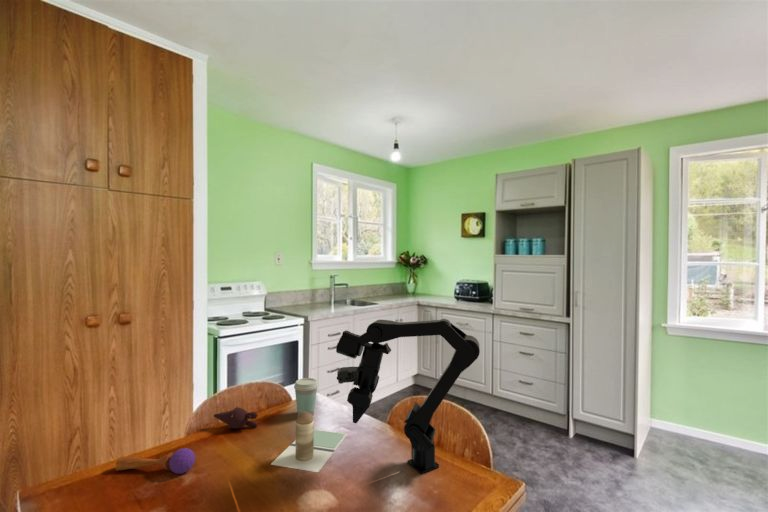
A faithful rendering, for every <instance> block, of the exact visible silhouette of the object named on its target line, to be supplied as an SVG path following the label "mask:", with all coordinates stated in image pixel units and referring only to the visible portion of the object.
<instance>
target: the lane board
mask: <svg viewBox="0 0 768 512" xmlns="http://www.w3.org/2000/svg"><path fill="white" fill-rule="evenodd" d="M347 435H348V433H343V432H335V431H329V430H323V429H322V430H321V429H315V428H314V455H313V458H312V459H310V460H307V461H299V460H297V459H296V439H295V440H294V441H293V442H291V443H290V444H289V446H288V447H286V449H284V450H283V452H281V454H279V455H278V456H277V457H276V458H275V460H272V462H271V464H270V466H271V465H272V466H276V467H284V468H289V469H296V470H301V471H305V472H306V471H307V472H313V473H319V472H320V471H321V469H322V468H323V466H324V465H325V464H326V463H327V461H328V460H329V459H330V458H331V456H332V455H333V453H334V452H335V451H336V449H338V447H339V446H340V445H341V443H342V442H343V440H344V439H345V438H346V436H347Z"/></svg>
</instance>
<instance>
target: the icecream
mask: <svg viewBox="0 0 768 512" xmlns="http://www.w3.org/2000/svg"><path fill="white" fill-rule="evenodd" d="M257 417H258V413H257V412H256V411H251V412H247V410H246V409H245V408H241V407H239V406H236V407H235V408H233V409H232V410H228V411H227V410H226V411H224V412H220V413H219V412H218V413H216V414H213V418H215V419H217V420H219V421H221V422H223V423H224V424H226V425H228V427H229V429H230V430H233V429H241V428H243V427H244V426H247V427H249V428H254V429H256V428H257V427H258V425H259V423H258V422H257V421H254V420H255V419H257Z"/></svg>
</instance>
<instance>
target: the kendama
mask: <svg viewBox="0 0 768 512" xmlns="http://www.w3.org/2000/svg"><path fill="white" fill-rule="evenodd" d="M124 457H125V458H124ZM118 459H119V460H118ZM118 459H117V460H116V462H115V470H116V471H117V472H118V471H119V470H120V471H125V470H132V469H137V468H143V467H148V466H154V465H157V466H159V467H160V468H163V469H165V470H167V471H171V472H172V473H174V474H177V475H182V474H185V473H187V472H189V471H190V470H191V468H193V466H194V464H195V461H196V454H195V452H194V451H193V450H192V449H190V448H189V447H188V448H187V447H183V448H180V449H178V450H176V451H174V452H173V451H172V452H169V453H167V454H165V455H164V456H162V457H160V458H158V459H157V458H156V459H155V458H144V457H143V458H142V457H133V456H120V457H118Z"/></svg>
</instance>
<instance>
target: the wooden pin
mask: <svg viewBox="0 0 768 512" xmlns="http://www.w3.org/2000/svg"><path fill="white" fill-rule="evenodd" d="M314 429H315V420H314V415H313V416H312V414H311V413H309V412H307V411H304V412H302V413H300V414H299V415H298V414H297V417H296V420H295V440H296V459H297V460H299V461H307V460H310V459H312V458H313V455H314Z"/></svg>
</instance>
